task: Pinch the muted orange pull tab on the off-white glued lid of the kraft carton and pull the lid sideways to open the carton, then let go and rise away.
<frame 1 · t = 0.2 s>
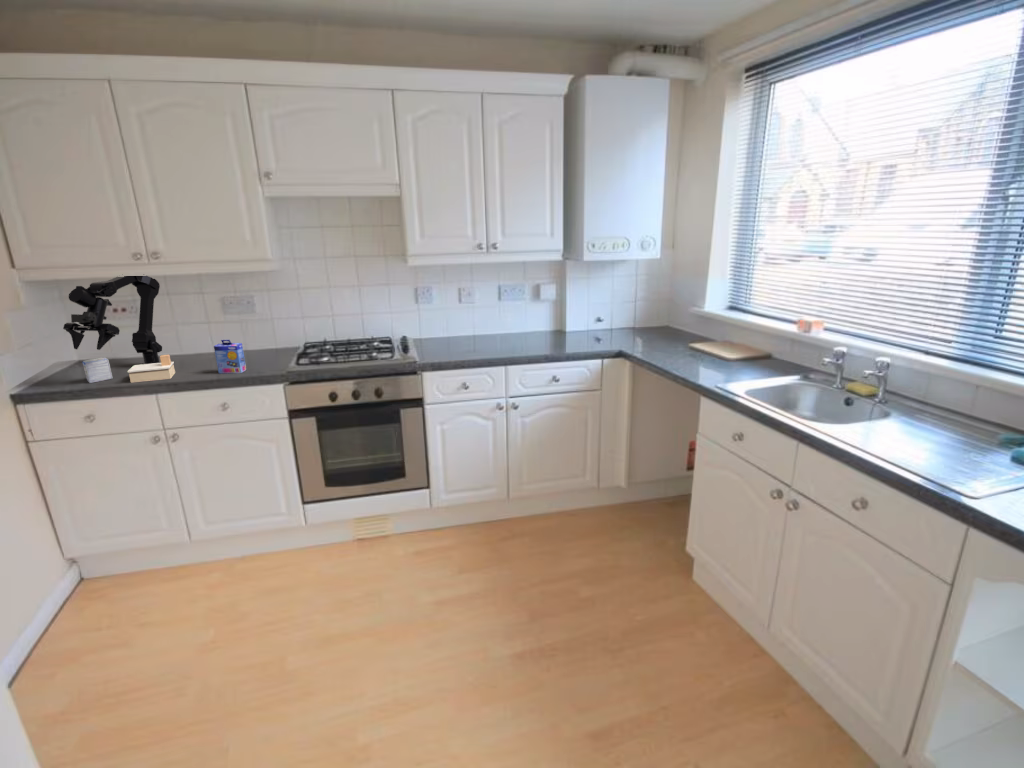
hand: (86, 349, 210), 15 cm above the worktop, tool tilted 30°, fingers open, 9 cm apart
carton: (153, 377, 224), on the worktop
medicine box: (100, 380, 222), on the worktop
lid: (150, 362, 223), point 7 cm above the worktop, slide at 0.0 cm
ink cartridge box: (232, 372, 232), on the worktop
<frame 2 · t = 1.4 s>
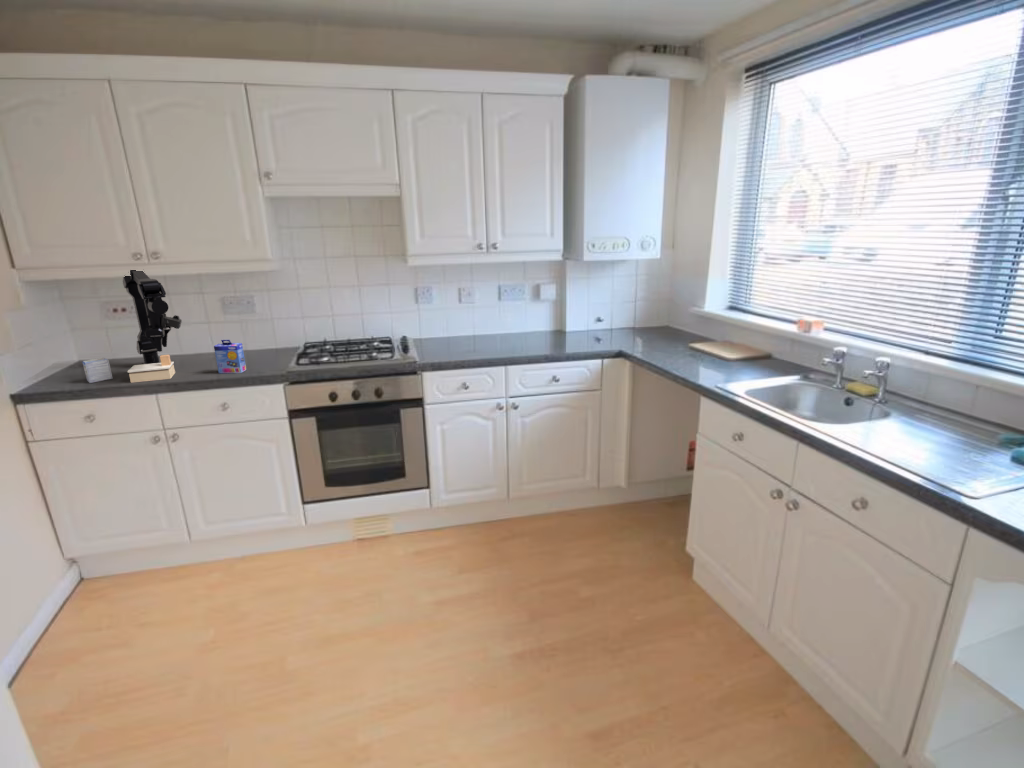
hand: (162, 349, 223), 12 cm above the worktop, tool pointing down, fingers open, 9 cm apart
nothing on the worktop moved.
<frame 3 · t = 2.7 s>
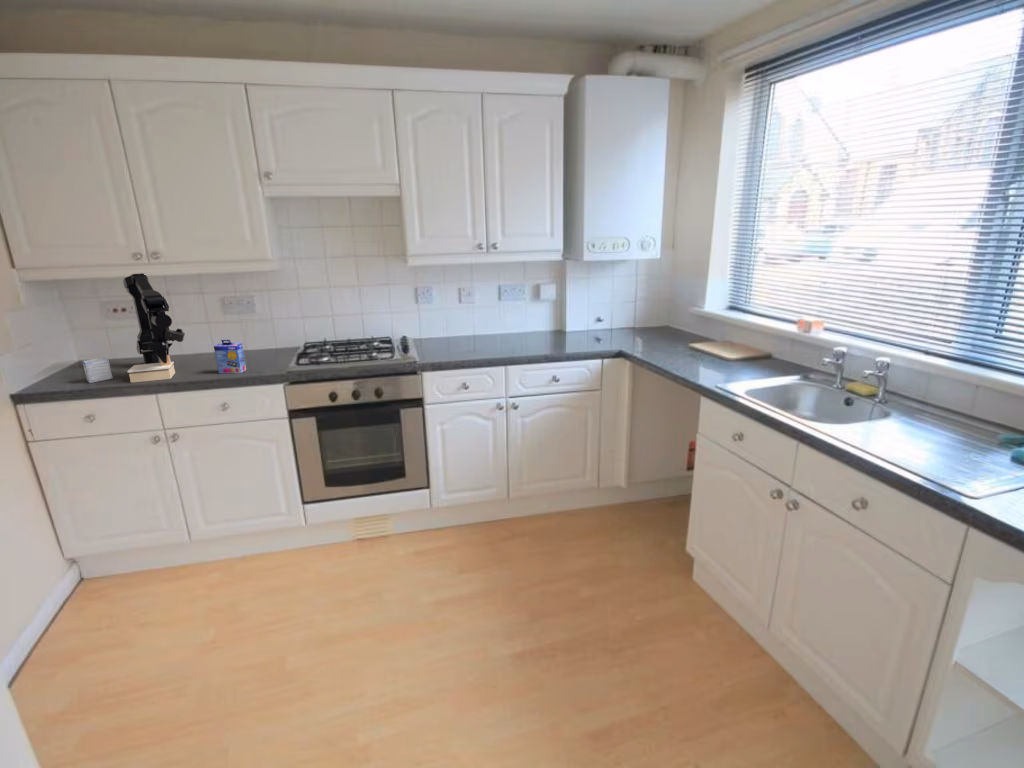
hand: (166, 362, 225), 6 cm above the worktop, tool pointing down, fingers closed on lid, 2 cm apart
lid: (150, 362, 223), point 7 cm above the worktop, slide at 0.0 cm, touching gripper
everything else where it was.
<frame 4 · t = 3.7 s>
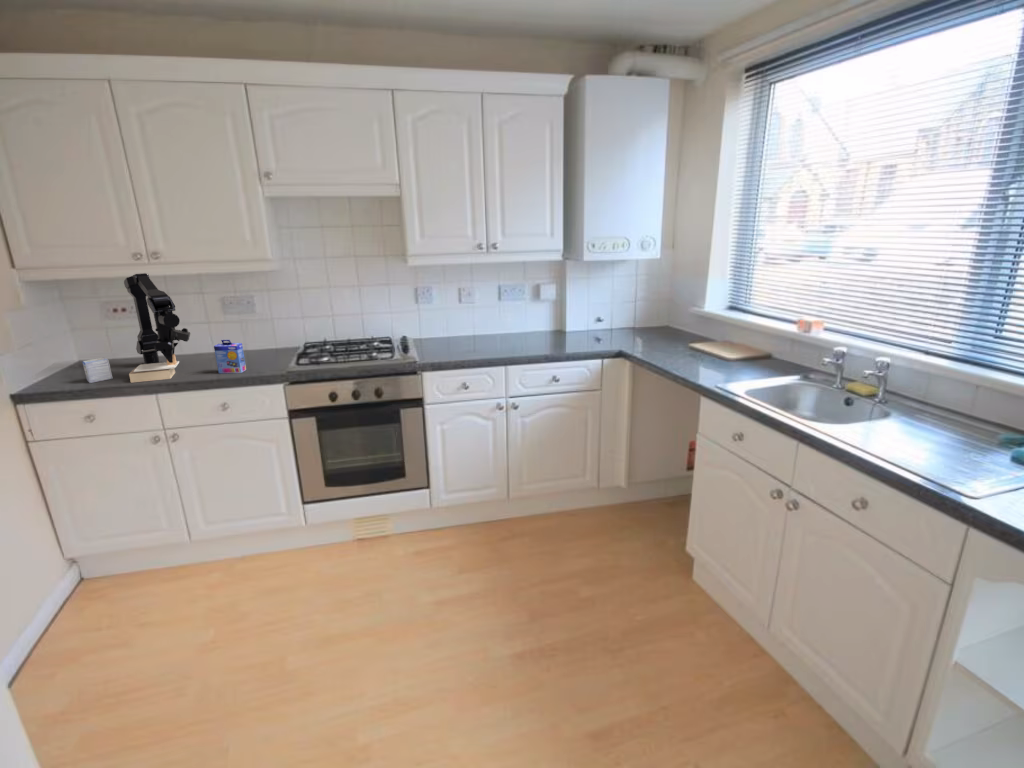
hand: (171, 361, 225), 6 cm above the worktop, tool pointing down, fingers closed on lid, 2 cm apart
lid: (156, 361, 223), point 7 cm above the worktop, slide at 2.1 cm, touching gripper
everything else where it was.
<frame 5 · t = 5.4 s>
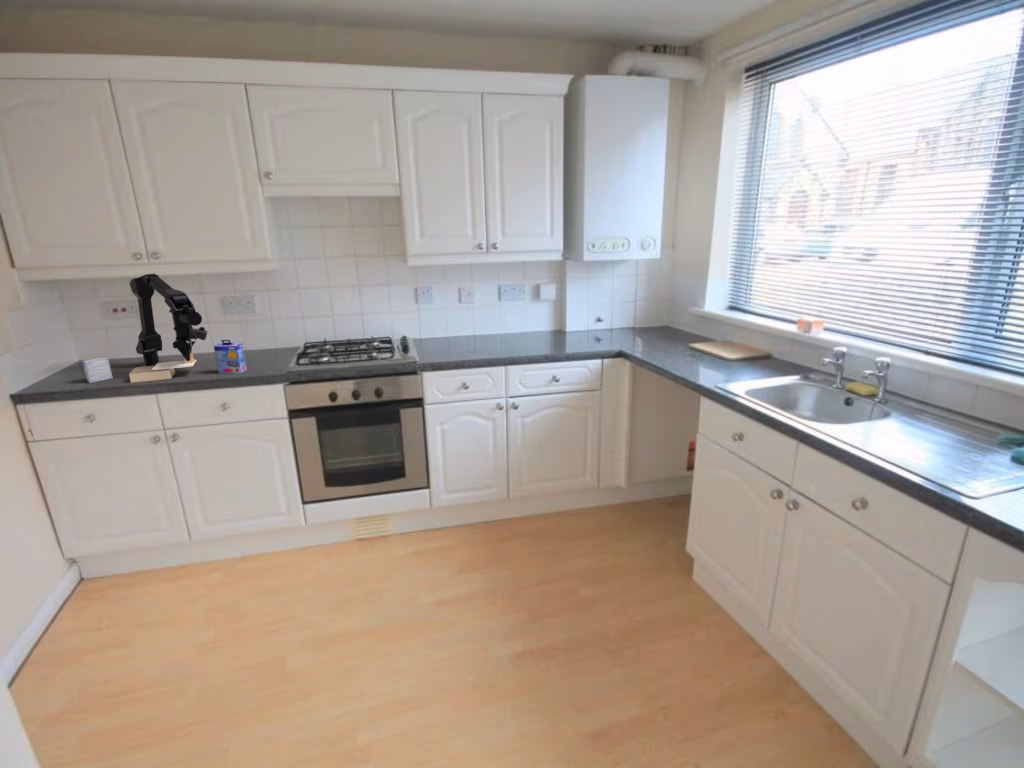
hand: (189, 360, 228), 6 cm above the worktop, tool pointing down, fingers closed on lid, 2 cm apart
lid: (173, 360, 226), point 7 cm above the worktop, slide at 8.5 cm, touching gripper
everything else where it was.
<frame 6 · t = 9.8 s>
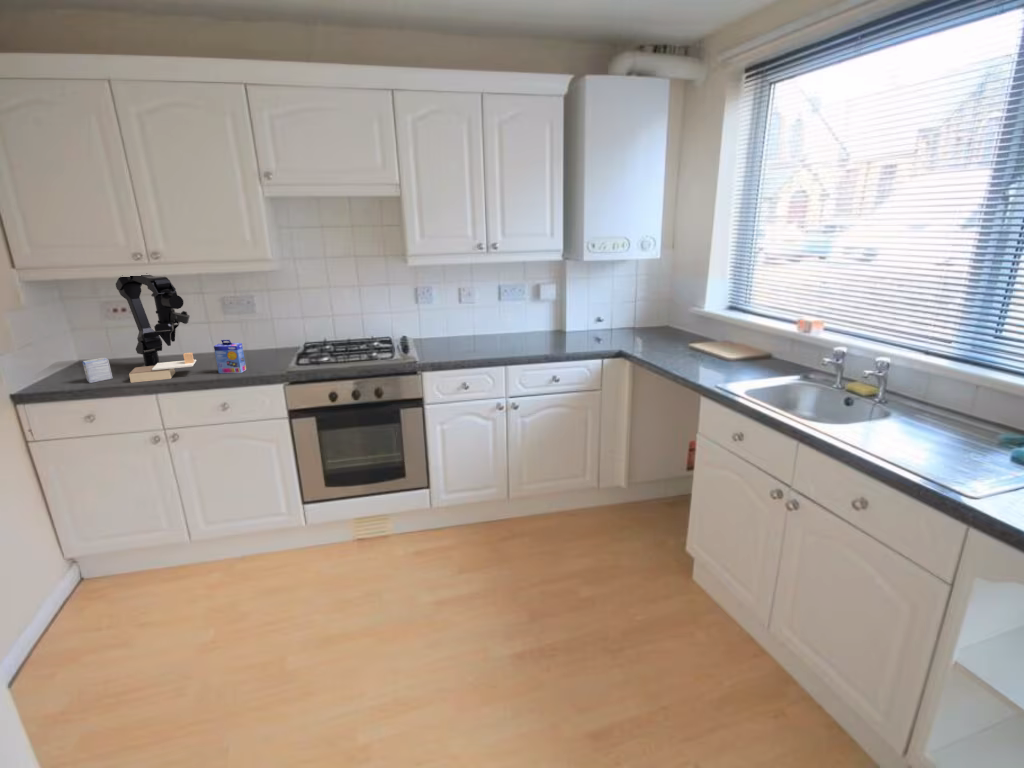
hand: (171, 343, 231), 12 cm above the worktop, tool pointing down, fingers open, 9 cm apart
lid: (173, 360, 226), point 7 cm above the worktop, slide at 8.5 cm
everything else where it was.
at the end: lid slide at 8.5 cm; the gripper is holding nothing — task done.
